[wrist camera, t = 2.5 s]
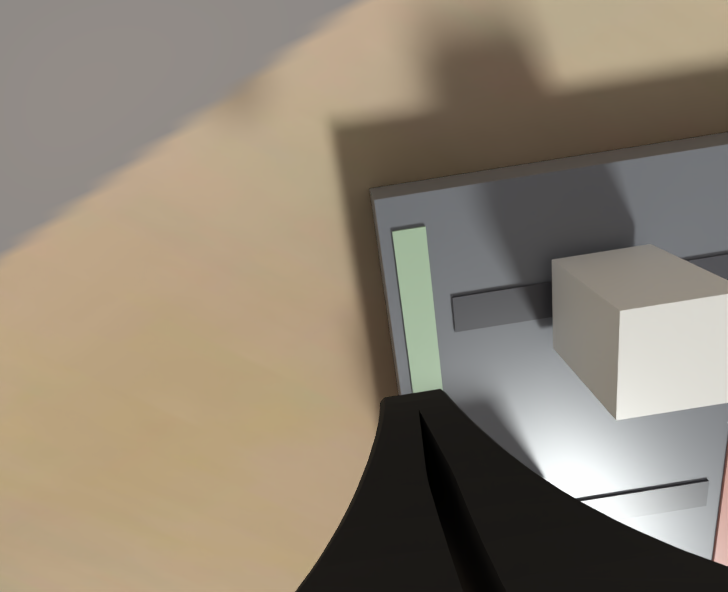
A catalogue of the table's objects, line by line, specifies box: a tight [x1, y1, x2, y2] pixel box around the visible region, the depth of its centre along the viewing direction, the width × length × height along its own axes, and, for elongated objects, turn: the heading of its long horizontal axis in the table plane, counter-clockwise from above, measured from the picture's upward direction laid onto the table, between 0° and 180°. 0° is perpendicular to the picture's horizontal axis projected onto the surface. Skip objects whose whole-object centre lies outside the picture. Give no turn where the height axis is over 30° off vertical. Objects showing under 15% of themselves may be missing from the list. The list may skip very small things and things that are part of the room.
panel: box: [370, 132, 728, 566], centre depth 21 cm, size 13×26×2 cm, turn 8°
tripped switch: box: [552, 244, 728, 420], centre depth 14 cm, size 3×3×4 cm
